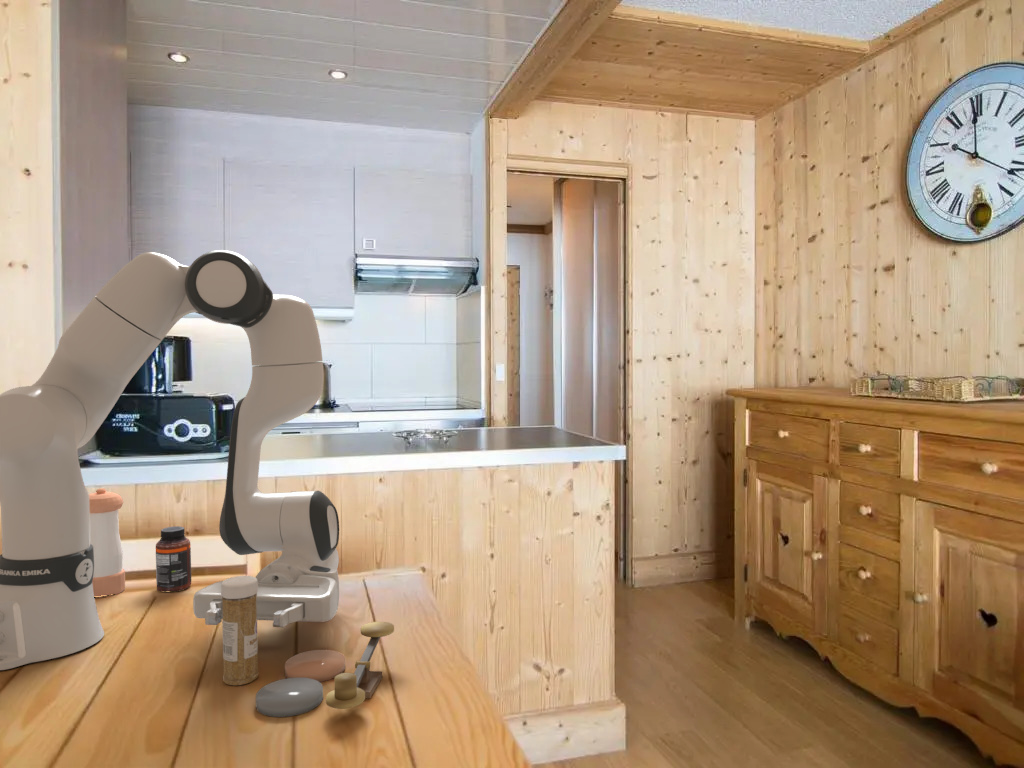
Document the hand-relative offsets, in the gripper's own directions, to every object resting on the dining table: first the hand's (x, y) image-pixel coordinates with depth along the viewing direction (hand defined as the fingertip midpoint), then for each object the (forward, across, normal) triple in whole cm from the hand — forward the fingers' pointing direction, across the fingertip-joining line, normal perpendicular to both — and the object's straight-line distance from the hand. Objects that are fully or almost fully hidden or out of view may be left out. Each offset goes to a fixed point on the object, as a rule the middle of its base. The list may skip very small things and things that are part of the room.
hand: (243, 620), depth 96 cm
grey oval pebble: (+7, +9, +8) cm, 13 cm away
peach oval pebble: (-2, +9, +8) cm, 12 cm away
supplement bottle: (-35, -30, +8) cm, 47 cm away
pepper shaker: (-32, -42, +8) cm, 53 cm away
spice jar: (+1, 0, +8) cm, 8 cm away
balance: (+2, +17, +7) cm, 19 cm away
